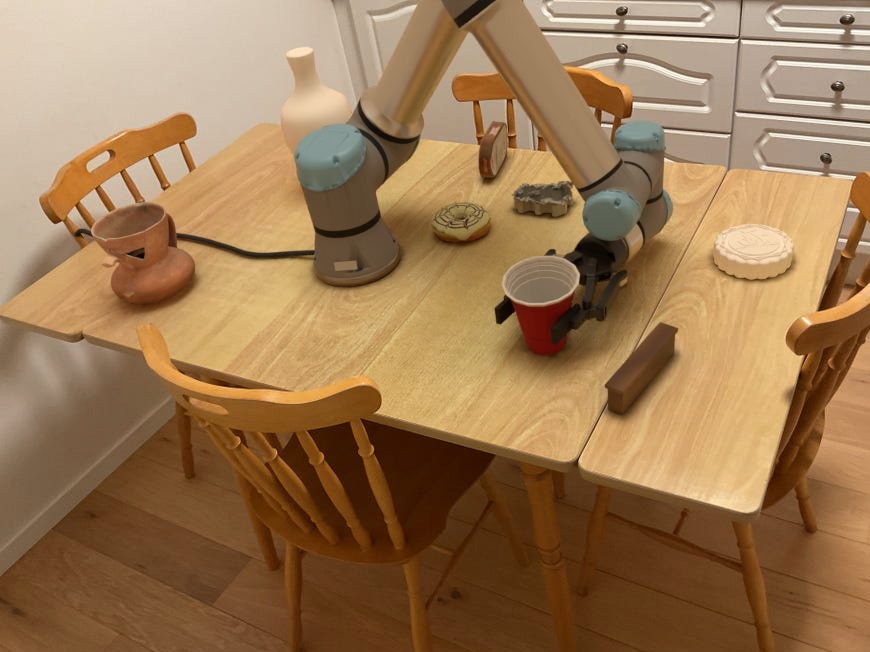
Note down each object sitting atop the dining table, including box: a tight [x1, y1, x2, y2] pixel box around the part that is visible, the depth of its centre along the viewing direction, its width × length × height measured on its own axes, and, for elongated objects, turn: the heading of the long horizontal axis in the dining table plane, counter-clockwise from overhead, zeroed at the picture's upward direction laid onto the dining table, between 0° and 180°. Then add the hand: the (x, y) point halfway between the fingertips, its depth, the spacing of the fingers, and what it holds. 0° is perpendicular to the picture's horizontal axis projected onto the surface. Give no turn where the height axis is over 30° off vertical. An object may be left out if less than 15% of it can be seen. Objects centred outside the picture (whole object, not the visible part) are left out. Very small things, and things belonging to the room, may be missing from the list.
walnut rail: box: [604, 321, 679, 416], centre depth 104 cm, size 3×15×4 cm, turn 142°
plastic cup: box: [501, 255, 580, 356], centre depth 110 cm, size 11×11×12 cm
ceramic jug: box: [90, 201, 196, 305], centre depth 135 cm, size 18×14×14 cm
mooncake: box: [712, 223, 795, 281], centre depth 123 cm, size 12×12×4 cm
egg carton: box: [511, 180, 574, 218], centre depth 144 cm, size 11×8×4 cm
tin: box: [478, 120, 509, 179], centre depth 157 cm, size 15×3×8 cm, turn 164°
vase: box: [279, 46, 353, 158], centre depth 154 cm, size 14×14×28 cm
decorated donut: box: [430, 201, 492, 243], centre depth 141 cm, size 10×11×4 cm
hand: (524, 326), depth 107 cm, fingers closed on plastic cup, 9 cm apart
